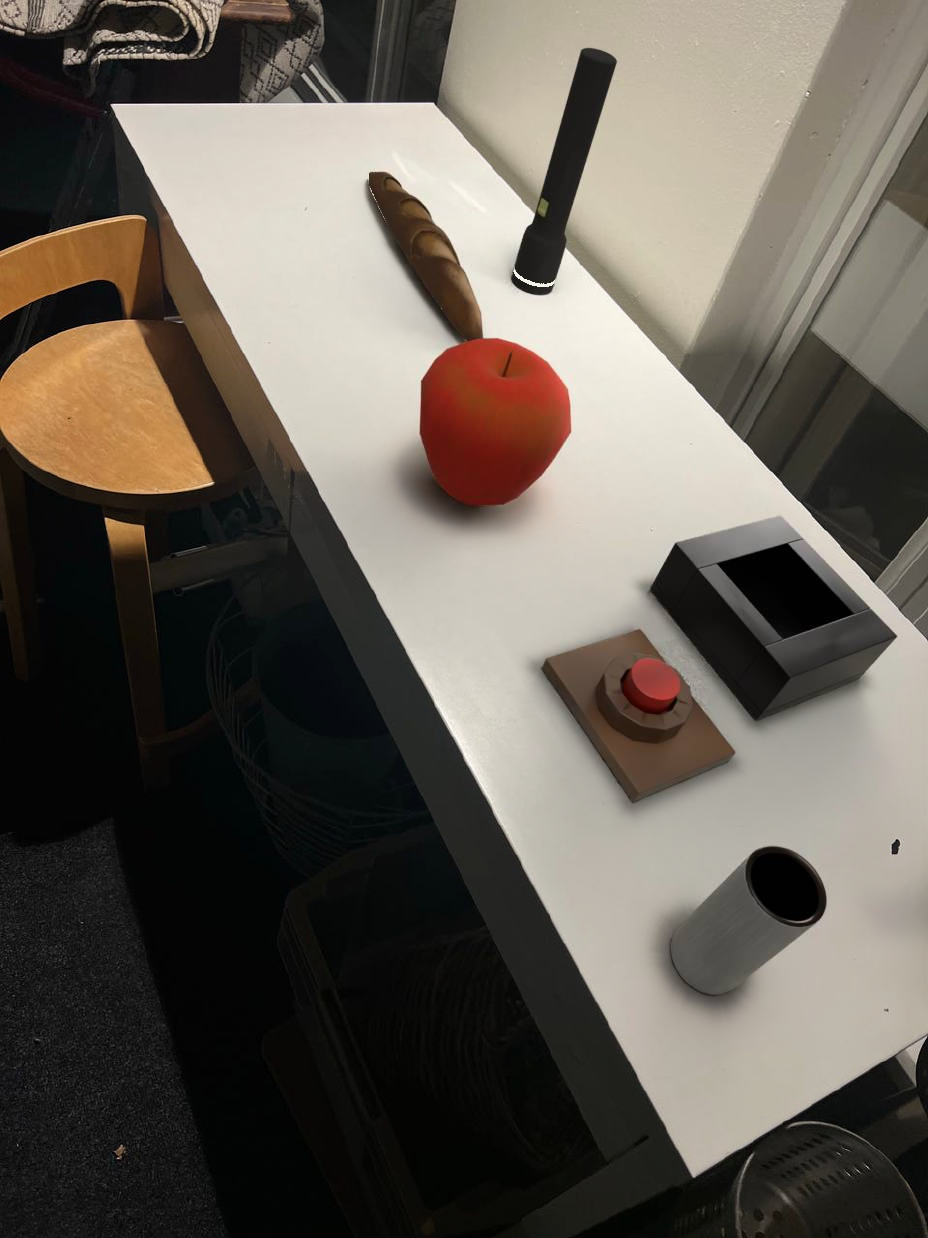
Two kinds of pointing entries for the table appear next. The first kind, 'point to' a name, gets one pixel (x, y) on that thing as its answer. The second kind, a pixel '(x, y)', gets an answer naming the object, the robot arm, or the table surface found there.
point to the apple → (491, 420)
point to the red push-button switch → (635, 717)
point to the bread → (428, 254)
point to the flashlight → (564, 172)
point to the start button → (651, 686)
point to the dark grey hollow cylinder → (748, 919)
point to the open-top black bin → (769, 614)
